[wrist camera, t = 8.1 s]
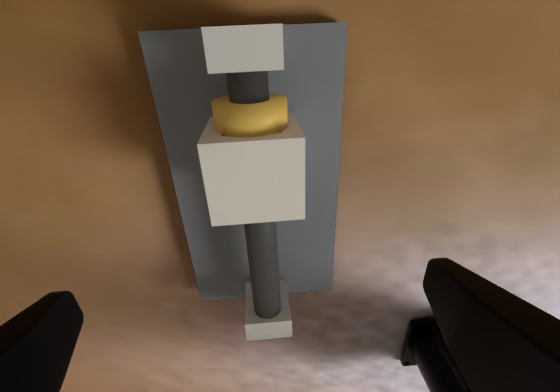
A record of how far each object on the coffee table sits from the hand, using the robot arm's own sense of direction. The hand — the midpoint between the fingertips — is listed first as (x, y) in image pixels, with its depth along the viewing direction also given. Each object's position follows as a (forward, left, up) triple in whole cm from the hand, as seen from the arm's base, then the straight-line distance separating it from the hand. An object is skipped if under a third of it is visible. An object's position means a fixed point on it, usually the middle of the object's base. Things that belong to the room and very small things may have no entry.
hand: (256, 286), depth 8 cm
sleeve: (0, 0, -11) cm, 11 cm away
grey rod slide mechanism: (-3, 0, -12) cm, 12 cm away
